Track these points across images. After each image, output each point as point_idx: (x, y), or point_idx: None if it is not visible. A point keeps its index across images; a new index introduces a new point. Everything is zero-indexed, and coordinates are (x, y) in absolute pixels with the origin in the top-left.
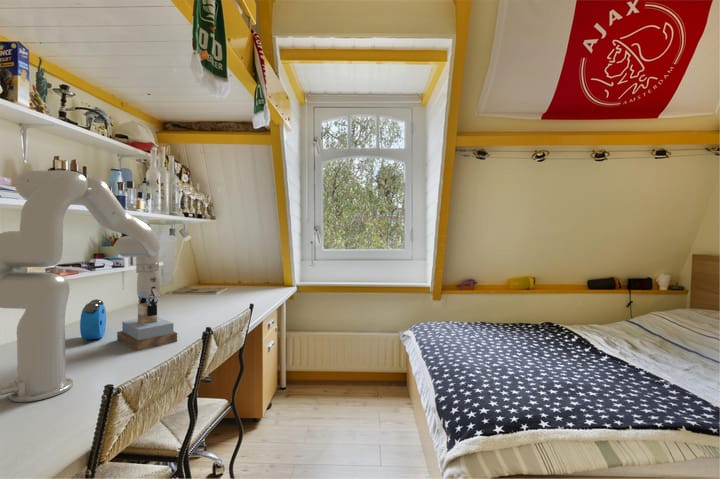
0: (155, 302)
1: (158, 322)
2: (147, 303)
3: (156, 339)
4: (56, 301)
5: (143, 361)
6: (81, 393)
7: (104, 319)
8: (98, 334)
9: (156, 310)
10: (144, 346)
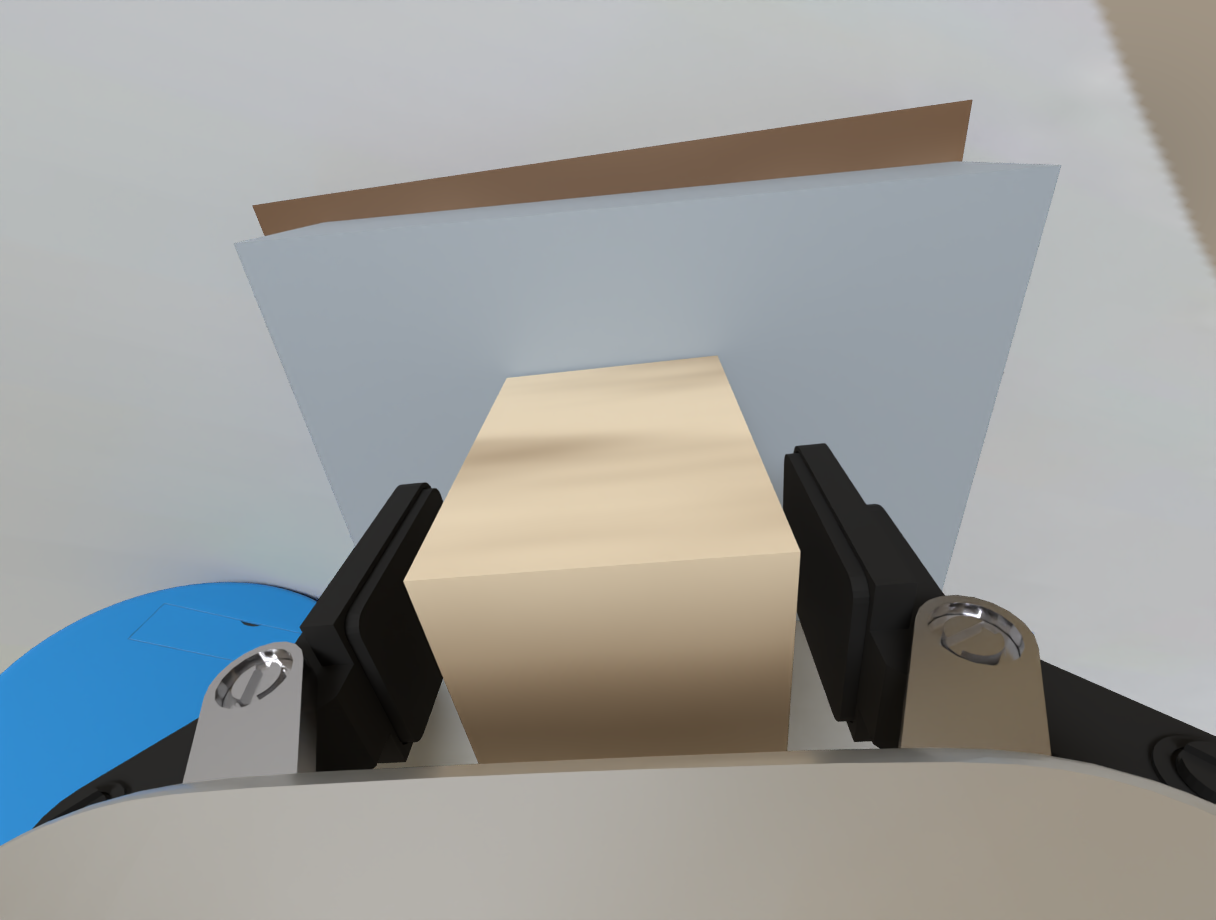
0: (1119, 733)
1: (774, 352)
2: (549, 681)
3: None
4: None
5: (1165, 526)
6: None
7: (112, 683)
8: None
9: (856, 496)
10: None
